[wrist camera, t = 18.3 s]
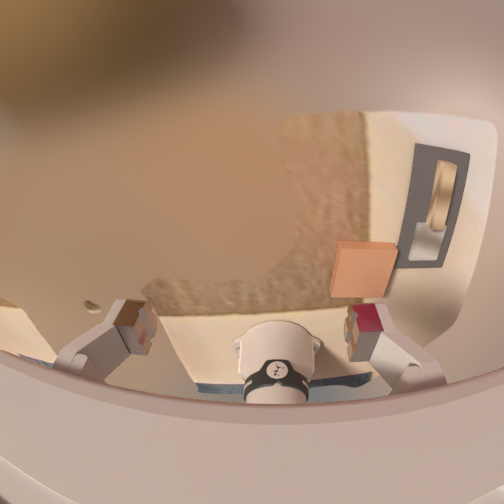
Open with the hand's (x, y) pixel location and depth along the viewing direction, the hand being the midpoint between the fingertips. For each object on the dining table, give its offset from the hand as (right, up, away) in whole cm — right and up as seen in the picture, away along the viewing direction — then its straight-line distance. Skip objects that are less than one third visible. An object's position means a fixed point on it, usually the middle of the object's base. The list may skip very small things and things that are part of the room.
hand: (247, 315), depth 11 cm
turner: (+30, +8, +29) cm, 43 cm away
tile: (+19, +4, +32) cm, 38 cm away
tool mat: (+30, +9, +29) cm, 43 cm away
